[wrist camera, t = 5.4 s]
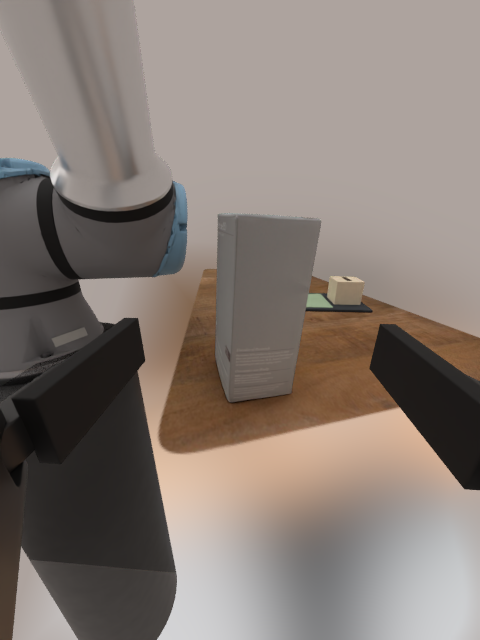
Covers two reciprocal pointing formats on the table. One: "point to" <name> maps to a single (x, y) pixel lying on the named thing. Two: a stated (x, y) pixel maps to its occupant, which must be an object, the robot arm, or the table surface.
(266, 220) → the cosmetic box
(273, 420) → the table surface
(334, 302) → the dark base board
